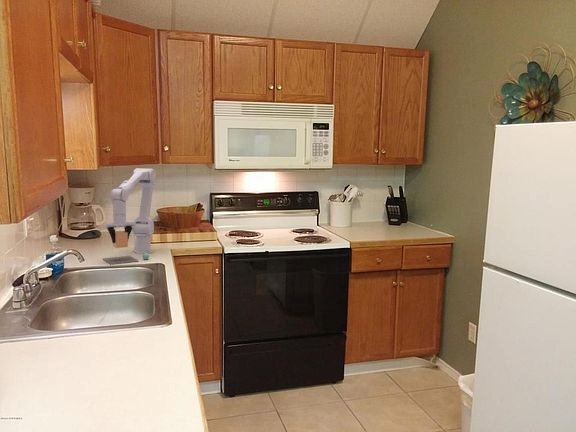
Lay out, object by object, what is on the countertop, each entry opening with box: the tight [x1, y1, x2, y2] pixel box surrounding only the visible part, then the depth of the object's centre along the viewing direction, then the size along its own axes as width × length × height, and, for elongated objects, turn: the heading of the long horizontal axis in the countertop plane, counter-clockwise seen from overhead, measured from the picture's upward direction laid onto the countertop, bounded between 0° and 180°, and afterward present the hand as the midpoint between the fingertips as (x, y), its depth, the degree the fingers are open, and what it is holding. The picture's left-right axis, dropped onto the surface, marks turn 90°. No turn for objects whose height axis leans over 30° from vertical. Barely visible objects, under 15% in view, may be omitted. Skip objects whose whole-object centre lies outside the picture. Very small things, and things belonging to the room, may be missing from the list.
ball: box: [141, 253, 150, 261], centre depth 222 cm, size 3×3×3 cm
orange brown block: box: [112, 230, 129, 249], centre depth 217 cm, size 5×5×7 cm
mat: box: [102, 255, 139, 265], centre depth 219 cm, size 13×13×1 cm
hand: (120, 242), depth 217 cm, fingers closed on orange brown block, 5 cm apart
